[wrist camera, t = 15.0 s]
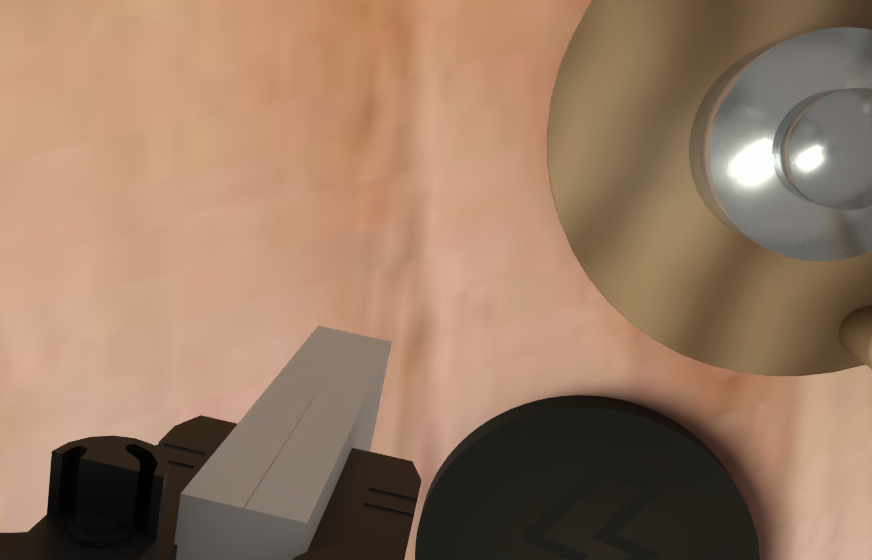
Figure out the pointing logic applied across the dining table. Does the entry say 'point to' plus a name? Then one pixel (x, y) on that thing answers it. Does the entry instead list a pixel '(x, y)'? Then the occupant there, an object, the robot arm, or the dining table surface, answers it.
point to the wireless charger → (584, 490)
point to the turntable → (690, 190)
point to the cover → (792, 145)
